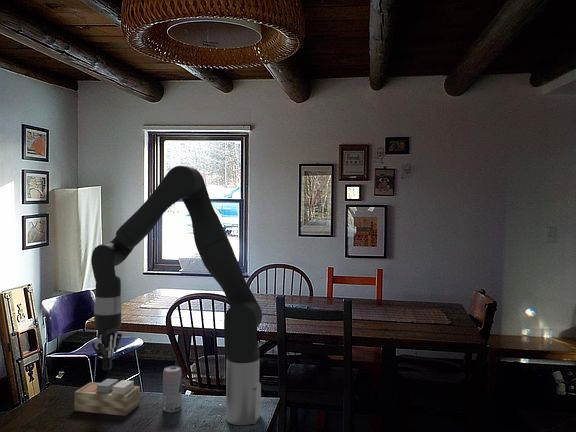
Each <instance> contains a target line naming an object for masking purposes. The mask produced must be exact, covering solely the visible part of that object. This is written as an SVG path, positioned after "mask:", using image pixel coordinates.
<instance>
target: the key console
mask: <svg viewBox="0 0 576 432" xmlns="http://www.w3.org/2000/svg"><path fill="white" fill-rule="evenodd" d="M100 383H101V382H94V381H93V382H92V381H90V382H89V383H87V384H85V385H84V386H81V387H80V388H79V389H77V390H75V391H74V412H83V413H93V414H94V413H95V414H103V415H104V414H105V415H106V414H107V415H115V416H124V417H125V416H127V415H128V414H130V413H131V412H132V411H134V410H135V409H136V408H137V407H139V406H140V403H141V402H140V400H141V397H140V394H141V393H140V392H141V387H140V386H138V385H134V388H133V389H132V390H131V391H129V392H128V393H127V394H125V395H119V394H113V391H112V392H110V393H109V394H107V393H97V390H95V391H94V392H85V391H82V390H83V389H85V388H86V387H88V386H90V385H91V384H100Z"/></svg>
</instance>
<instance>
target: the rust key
mask: <svg viewBox="0 0 576 432" xmlns="http://www.w3.org/2000/svg"><path fill="white" fill-rule="evenodd" d="M97 385H98V384H91V385H90V386H88V387H86V388H85V389H83V390H82V391H85V392H94V391H95V390H97Z"/></svg>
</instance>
